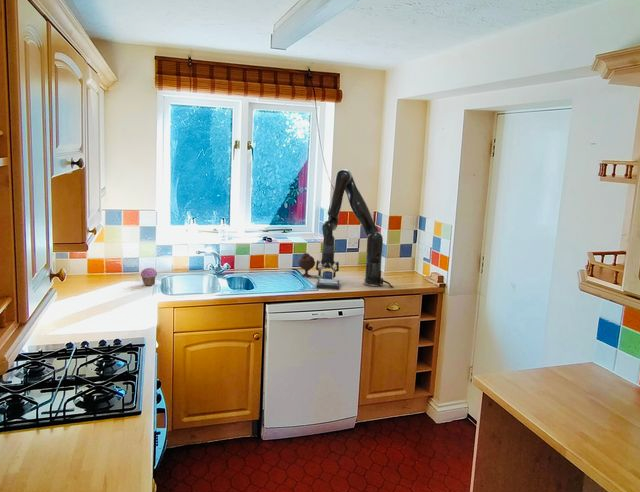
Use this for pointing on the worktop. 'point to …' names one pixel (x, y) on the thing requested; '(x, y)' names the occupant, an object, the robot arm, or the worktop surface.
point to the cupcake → (148, 276)
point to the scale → (328, 284)
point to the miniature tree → (306, 263)
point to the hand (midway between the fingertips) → (326, 277)
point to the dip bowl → (327, 275)
